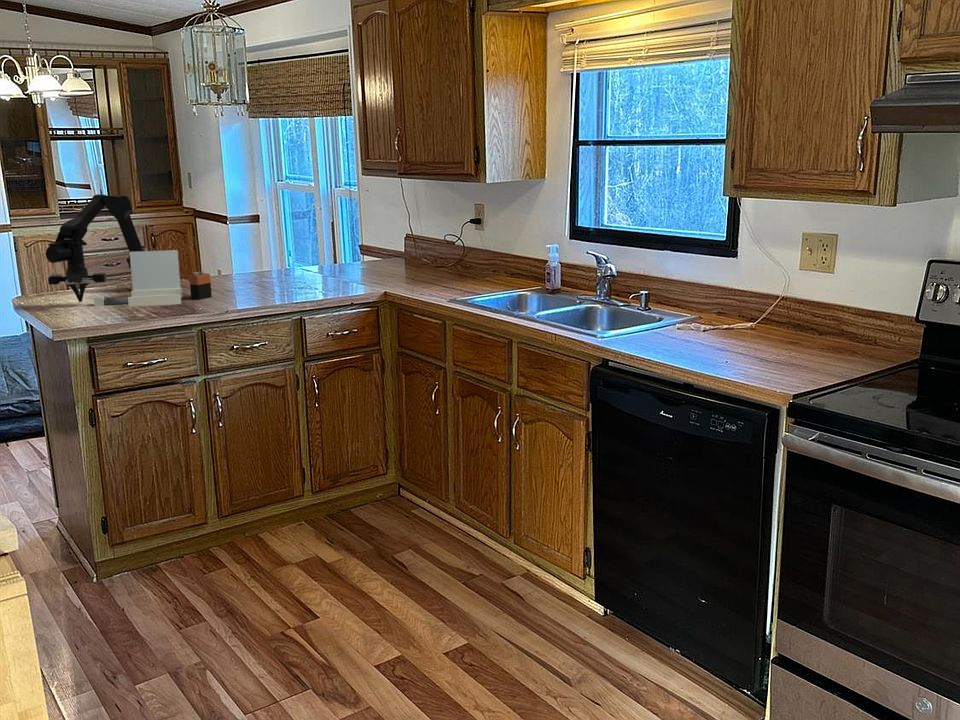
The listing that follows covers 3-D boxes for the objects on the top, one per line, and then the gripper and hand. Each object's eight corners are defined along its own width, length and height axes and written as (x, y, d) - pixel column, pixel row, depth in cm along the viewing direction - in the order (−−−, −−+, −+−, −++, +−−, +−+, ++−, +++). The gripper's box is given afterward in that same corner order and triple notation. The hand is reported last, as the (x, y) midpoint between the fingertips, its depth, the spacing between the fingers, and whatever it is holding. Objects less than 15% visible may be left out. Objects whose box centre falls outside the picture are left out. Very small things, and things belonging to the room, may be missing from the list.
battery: (190, 299, 327) (188, 272, 324) (204, 296, 332) (202, 270, 330) (198, 300, 324) (196, 273, 322) (212, 297, 330) (210, 271, 328)
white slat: (132, 299, 325) (131, 290, 324) (182, 297, 330) (181, 288, 329) (128, 306, 312) (127, 297, 311) (181, 304, 317) (180, 294, 316)
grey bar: (95, 304, 316) (94, 296, 315) (131, 302, 319) (130, 294, 318) (94, 306, 313) (93, 298, 312) (130, 304, 316) (129, 296, 316)
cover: (132, 290, 324) (133, 290, 325) (180, 288, 329) (180, 288, 330) (129, 251, 323) (129, 251, 324) (177, 250, 328) (177, 250, 329)
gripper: (42, 263, 299) (48, 307, 303) (100, 261, 304) (105, 304, 308) (48, 259, 309) (54, 301, 313) (104, 257, 314) (109, 299, 318)
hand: (80, 302), depth 313 cm, fingers closed
